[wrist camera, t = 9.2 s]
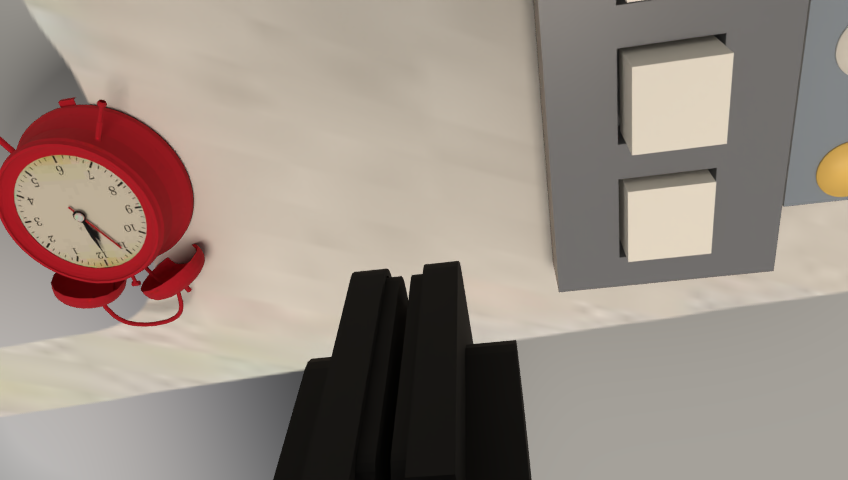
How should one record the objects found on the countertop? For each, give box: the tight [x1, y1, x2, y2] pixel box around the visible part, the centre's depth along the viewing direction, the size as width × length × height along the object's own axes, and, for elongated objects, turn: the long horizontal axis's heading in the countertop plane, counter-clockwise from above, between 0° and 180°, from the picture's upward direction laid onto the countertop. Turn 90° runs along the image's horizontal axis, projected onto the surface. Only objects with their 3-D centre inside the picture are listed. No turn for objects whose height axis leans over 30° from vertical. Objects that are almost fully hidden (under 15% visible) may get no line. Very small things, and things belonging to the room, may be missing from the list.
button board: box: [534, 0, 809, 292], centre depth 34 cm, size 23×12×3 cm, turn 9°
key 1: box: [618, 169, 716, 262], centre depth 37 cm, size 4×4×3 cm
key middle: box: [619, 35, 734, 155], centre depth 33 cm, size 4×4×3 cm
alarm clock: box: [0, 97, 205, 326], centre depth 40 cm, size 10×6×15 cm
